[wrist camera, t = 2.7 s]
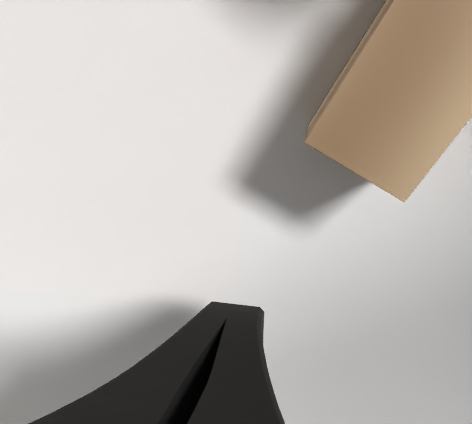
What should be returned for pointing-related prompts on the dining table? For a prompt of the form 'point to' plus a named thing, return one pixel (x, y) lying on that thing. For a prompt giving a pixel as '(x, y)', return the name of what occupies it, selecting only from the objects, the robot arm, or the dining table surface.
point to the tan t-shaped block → (400, 94)
